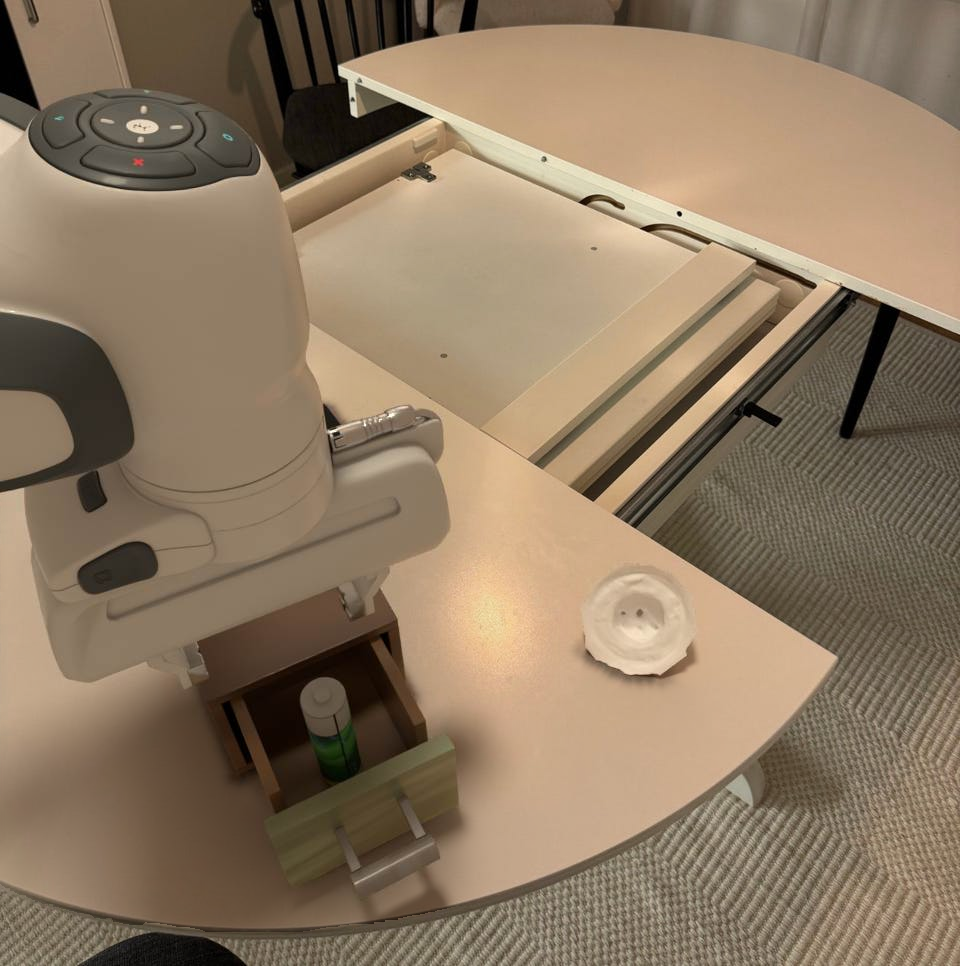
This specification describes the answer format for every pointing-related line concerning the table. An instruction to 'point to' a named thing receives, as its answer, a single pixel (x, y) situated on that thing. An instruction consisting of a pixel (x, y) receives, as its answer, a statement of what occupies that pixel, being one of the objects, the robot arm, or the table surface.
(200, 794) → the table surface
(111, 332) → the robot arm
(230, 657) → the cabinet
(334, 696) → the battery
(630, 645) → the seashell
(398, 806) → the drawer
